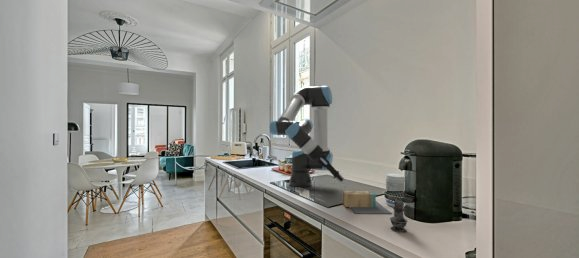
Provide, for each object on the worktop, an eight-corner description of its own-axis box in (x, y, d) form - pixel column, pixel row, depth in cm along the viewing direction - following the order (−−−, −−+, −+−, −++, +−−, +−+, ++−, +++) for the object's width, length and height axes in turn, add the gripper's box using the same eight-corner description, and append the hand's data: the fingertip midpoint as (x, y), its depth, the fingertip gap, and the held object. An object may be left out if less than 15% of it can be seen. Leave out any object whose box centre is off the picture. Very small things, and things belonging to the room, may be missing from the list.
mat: (342, 199, 127) (342, 198, 127) (373, 199, 127) (373, 199, 127) (354, 213, 105) (354, 212, 105) (391, 213, 105) (391, 213, 105)
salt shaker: (392, 225, 92) (392, 193, 92) (409, 229, 88) (409, 196, 89) (387, 230, 88) (387, 196, 88) (405, 234, 84) (405, 199, 84)
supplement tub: (392, 201, 125) (392, 172, 125) (410, 205, 118) (411, 175, 118) (382, 204, 119) (382, 174, 119) (401, 209, 112) (401, 177, 112)
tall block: (342, 191, 119) (371, 191, 119) (342, 203, 119) (371, 203, 119) (345, 194, 113) (375, 194, 113) (345, 207, 113) (375, 207, 113)
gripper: (305, 153, 122) (337, 187, 122) (307, 156, 109) (344, 193, 109) (315, 143, 123) (348, 176, 123) (319, 144, 110) (355, 182, 110)
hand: (346, 184), depth 116 cm, fingers closed
